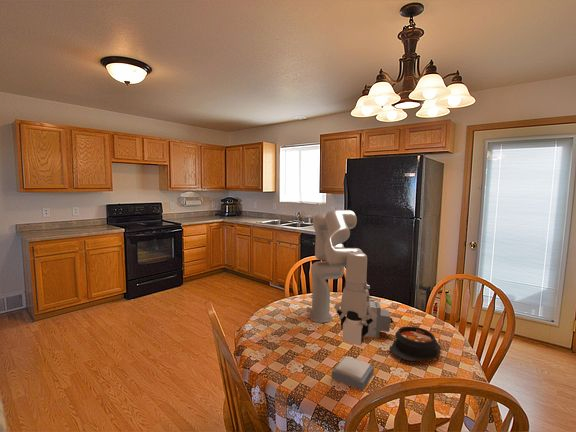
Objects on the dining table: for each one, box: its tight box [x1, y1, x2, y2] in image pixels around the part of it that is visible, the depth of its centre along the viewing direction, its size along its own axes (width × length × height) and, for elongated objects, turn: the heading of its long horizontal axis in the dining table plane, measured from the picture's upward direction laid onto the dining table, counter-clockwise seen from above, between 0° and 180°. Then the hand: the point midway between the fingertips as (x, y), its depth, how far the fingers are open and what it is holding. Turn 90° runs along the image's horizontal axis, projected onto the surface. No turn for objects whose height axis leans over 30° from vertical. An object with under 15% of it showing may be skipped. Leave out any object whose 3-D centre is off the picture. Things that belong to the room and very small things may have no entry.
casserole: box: [388, 325, 442, 362], centre depth 132 cm, size 25×19×8 cm
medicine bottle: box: [341, 311, 366, 346], centre depth 113 cm, size 7×7×12 cm
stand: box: [331, 355, 375, 391], centre depth 114 cm, size 12×12×4 cm
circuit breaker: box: [365, 301, 394, 339], centre depth 147 cm, size 8×14×15 cm, turn 78°
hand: (354, 330), depth 113 cm, fingers closed on medicine bottle, 7 cm apart
